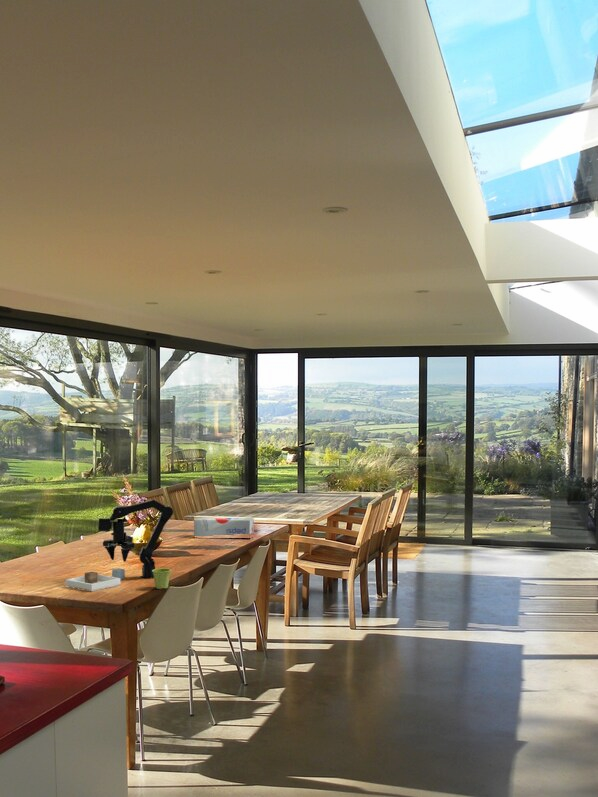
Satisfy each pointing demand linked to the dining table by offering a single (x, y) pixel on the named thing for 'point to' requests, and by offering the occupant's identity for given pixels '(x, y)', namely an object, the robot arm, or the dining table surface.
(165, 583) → the plant pot
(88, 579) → the walnut block
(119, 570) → the slate block
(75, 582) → the grey tray
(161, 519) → the robot arm
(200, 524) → the soda pack
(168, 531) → the dining table surface
